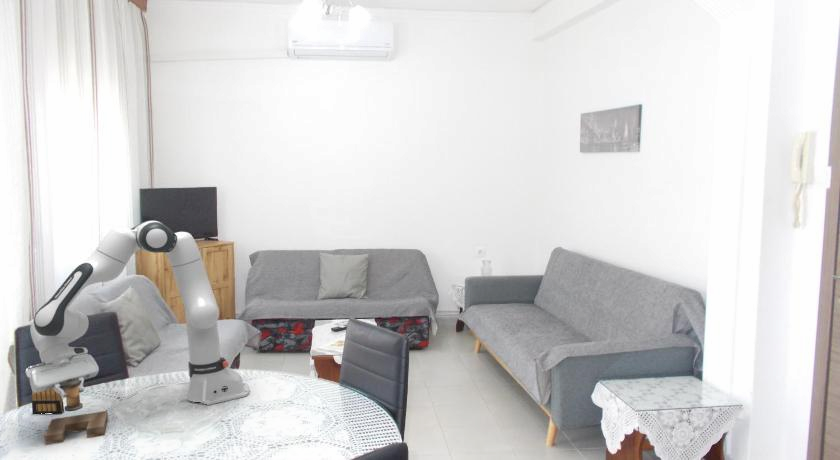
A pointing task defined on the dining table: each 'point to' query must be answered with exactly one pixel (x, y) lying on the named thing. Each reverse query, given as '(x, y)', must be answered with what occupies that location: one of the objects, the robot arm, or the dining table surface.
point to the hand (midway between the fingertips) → (73, 393)
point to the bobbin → (72, 395)
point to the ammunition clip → (47, 402)
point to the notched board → (76, 426)
